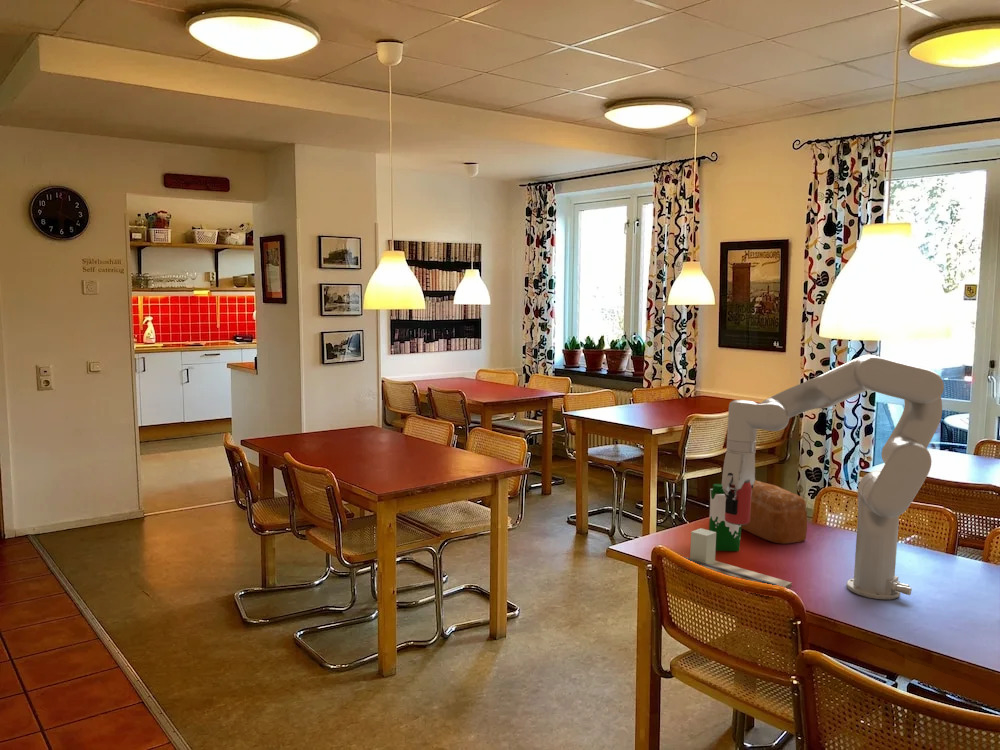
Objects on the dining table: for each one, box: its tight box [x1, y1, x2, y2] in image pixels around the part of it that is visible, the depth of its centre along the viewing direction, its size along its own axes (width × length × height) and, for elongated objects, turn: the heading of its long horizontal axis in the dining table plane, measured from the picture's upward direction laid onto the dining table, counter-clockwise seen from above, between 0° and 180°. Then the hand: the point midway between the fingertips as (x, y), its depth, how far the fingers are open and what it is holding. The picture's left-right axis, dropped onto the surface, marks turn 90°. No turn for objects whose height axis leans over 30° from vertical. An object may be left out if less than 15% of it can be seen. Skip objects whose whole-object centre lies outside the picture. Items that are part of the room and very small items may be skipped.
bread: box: [741, 479, 808, 544], centre depth 249 cm, size 14×26×16 cm, turn 21°
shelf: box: [683, 556, 793, 589], centre depth 208 cm, size 28×10×3 cm, turn 44°
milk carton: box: [708, 483, 742, 552], centre depth 229 cm, size 9×9×20 cm
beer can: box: [725, 480, 752, 525], centre depth 207 cm, size 7×7×12 cm
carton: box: [689, 527, 716, 565], centre depth 215 cm, size 5×5×9 cm
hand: (737, 510), depth 207 cm, fingers closed on beer can, 6 cm apart
